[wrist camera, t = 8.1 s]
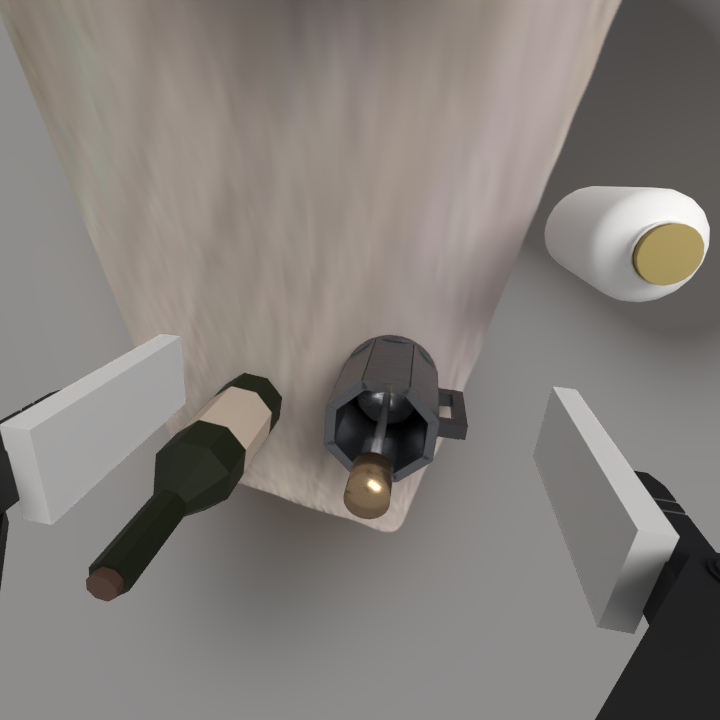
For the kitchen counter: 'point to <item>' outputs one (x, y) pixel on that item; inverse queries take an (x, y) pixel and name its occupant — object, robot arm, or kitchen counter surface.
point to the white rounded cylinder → (628, 239)
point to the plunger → (375, 457)
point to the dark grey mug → (397, 376)
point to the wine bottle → (190, 477)
